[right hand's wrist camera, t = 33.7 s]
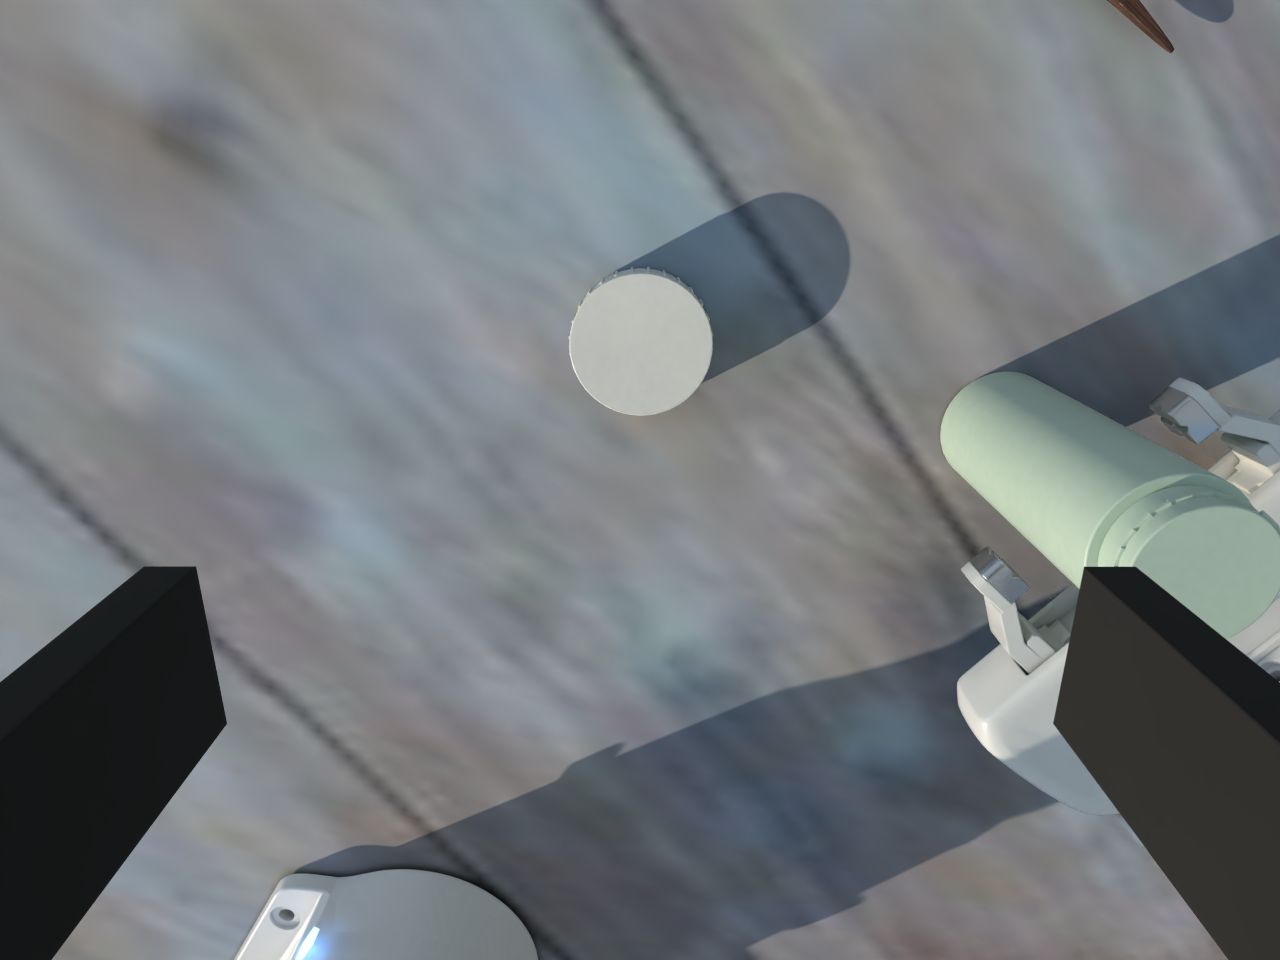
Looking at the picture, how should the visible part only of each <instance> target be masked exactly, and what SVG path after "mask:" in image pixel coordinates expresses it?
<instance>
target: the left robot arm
mask: <svg viewBox="0 0 1280 960" xmlns="http://www.w3.org/2000/svg"><path fill="white" fill-rule="evenodd" d="M1148 407H1149V408H1150V409H1151V410H1152V411H1153V412H1154V413H1155V414H1157V415H1159V416H1161V421H1162V422H1163V423H1164V424H1165V425H1166V426H1167V427H1168V428H1169V429H1170V430H1171V431H1172V432H1174V433H1176V434H1178V435H1180V436H1183V435H1184V436H1185V437H1186V438H1187V439H1188V440H1190V441H1192V442H1194V443H1196V444H1198V445H1199V444H1200V443H1201V442H1202V441H1203V440H1205V439H1206V438H1207V437H1208V436H1210V435H1211V434H1212V433H1213V432H1215V431H1216V430H1218V431H1222V432H1225V433H1224V434H1223V435H1222V438H1221V439H1222V440H1223V441H1224V442H1225V444H1226V445H1227V446H1228V447H1229V448H1230V449H1231V451H1230V452H1229V453H1227V454H1226V455H1225V456H1224V457H1223V458H1222V459H1220V460H1219V461H1218V462H1217V463H1216V464H1214V465H1213V466H1212V467H1211V468H1210V469H1208V471H1209V472H1211V473H1213V474H1215V475H1217V476H1219V477H1221V478H1223V479H1224V480H1226V481H1228V482H1230V483H1231V484H1233V485H1235V486H1236V487H1237V488H1238V489H1239V490H1241V491H1242V492H1243V493H1244V495H1245V496H1246V497H1247V498H1248V499H1249V501H1250V503H1251V504H1252V506H1253V507H1254V508H1255V509H1256V510H1257V511H1258V512H1260V511H1261V510H1263V511H1265V512H1266V513H1267V514H1268V515H1269V516H1270V517H1271V518H1272V519H1273V520H1274V521H1275V522H1276V523H1277V524H1278V525H1279V528H1280V410H1279V411H1278V412H1276V413H1275V414H1274V415H1273V416H1272V417H1270V418H1269V419H1266V418H1263V417H1261V416H1258V415H1256V414H1253V413H1251V412H1248V411H1243V410H1238V409H1234V408H1229V407H1224V406H1221V405H1220V404H1219V403H1218V402H1217V401H1216V400H1215V399H1214V398H1213V397H1212V396H1211V394H1210V393H1209V392H1208V391H1206V390H1205V389H1204V388H1202V387H1201V386H1200V385H1198V384H1196V383H1194V382H1191V381H1189V380H1186V379H1183V378H1181V377H1179V378H1178V379H1177V380H1175V381H1174V382H1173V383H1172V384H1171V385H1170V386H1168V388H1166V389H1165V390H1164V391H1163V392H1162V393H1161V394H1160V395H1159V396H1157V397H1156V398H1155V399H1154V400H1153V401H1152V402H1151V403H1149V404H1148ZM961 571H962V572H963V573H964V574H965V576H966V577H967V578H968V579H969V581H970V582H971V583H972V584H973V585H974V586H975V587H976V588H977V589H978V590H979V591H980V592H981V593H982V594H983V595H984V599H985V604H986V609H987V614H988V620H989V625H990V630H991V631H992V633H993V634H994V635H995V637H996V638H997V639H998V641H999V642H1000V643H1001V644H999V645H998V646H997V647H996V648H995V649H993V650H992V651H991V652H990V653H989V654H987V655H986V656H985V657H984V658H983V659H981V660H980V661H979V662H978V663H977V664H975V665H974V666H973V667H972V668H971V669H969V670H968V671H967V672H966V673H964V674H963V675H962V676H961V677H960V679H959V680H958V683H957V697H958V705H959V708H960V710H961V712H962V714H963V716H964V718H965V720H966V722H967V723H968V725H969V727H970V728H971V730H972V731H973V733H974V734H975V736H976V737H977V738H978V740H979V741H980V742H981V744H982V745H983V746H984V747H985V748H986V749H987V750H988V751H989V752H990V753H991V754H993V755H994V756H995V757H996V758H997V759H998V760H1000V761H1001V762H1002V763H1004V764H1005V765H1006V766H1007V767H1009V768H1010V769H1011V770H1013V771H1014V772H1015V773H1017V774H1018V775H1019V776H1021V777H1022V778H1024V779H1025V780H1027V781H1028V782H1029V783H1031V784H1032V785H1034V786H1035V787H1037V788H1039V789H1040V790H1042V791H1043V792H1045V793H1046V794H1048V795H1050V796H1051V797H1053V798H1055V799H1056V800H1058V801H1060V802H1061V803H1063V804H1065V805H1067V806H1069V807H1071V808H1073V809H1075V810H1078V811H1080V812H1084V813H1087V814H1092V815H1101V816H1105V815H1111V816H1112V817H1113V818H1114V819H1115V820H1116V822H1117V823H1118V824H1119V825H1120V826H1121V827H1122V828H1123V829H1124V830H1125V831H1126V832H1127V833H1128V834H1129V835H1130V836H1131V837H1132V838H1133V839H1134V840H1135V841H1136V842H1137V843H1138V844H1139V845H1140V846H1141V847H1142V848H1144V849H1145V850H1147V849H1146V848H1145V847H1144V845H1143V844H1142V843H1141V841H1140V840H1139V839H1138V837H1137V836H1136V834H1135V833H1134V832H1133V830H1132V829H1131V828H1130V826H1129V825H1128V824H1127V822H1126V821H1125V820H1124V818H1123V817H1122V816H1121V814H1120V813H1119V812H1118V810H1117V809H1116V808H1115V806H1114V805H1113V804H1112V802H1111V801H1110V800H1109V798H1108V797H1107V795H1106V794H1105V793H1104V791H1103V790H1102V789H1101V787H1100V786H1099V785H1098V783H1097V782H1096V781H1095V779H1094V778H1093V777H1092V775H1091V774H1090V773H1089V771H1088V770H1087V769H1086V767H1085V766H1084V765H1083V763H1082V762H1081V761H1080V759H1079V758H1078V756H1077V755H1076V754H1075V752H1074V751H1073V750H1072V748H1071V747H1070V746H1069V744H1068V743H1067V742H1066V740H1065V739H1064V738H1063V736H1062V735H1061V734H1060V732H1059V731H1058V730H1057V728H1056V727H1055V726H1054V724H1053V722H1054V716H1055V711H1056V706H1057V701H1058V696H1059V691H1060V686H1061V681H1062V676H1063V671H1064V666H1065V661H1066V656H1067V651H1068V645H1069V640H1070V635H1071V630H1072V625H1073V620H1074V615H1075V610H1076V605H1077V600H1078V595H1079V590H1080V589H1079V588H1078V587H1077V586H1076V585H1075V584H1074V583H1072V584H1071V585H1070V586H1069V587H1068V588H1066V589H1065V590H1064V591H1063V592H1062V593H1060V594H1059V595H1058V596H1057V597H1056V598H1054V599H1053V600H1052V601H1051V602H1050V603H1048V604H1047V605H1046V606H1045V607H1044V608H1042V609H1041V610H1040V611H1039V612H1038V613H1036V614H1035V615H1034V616H1033V617H1032V618H1030V619H1029V620H1027V619H1026V618H1025V617H1023V616H1022V615H1021V614H1020V613H1019V612H1018V611H1017V608H1016V603H1015V601H1016V600H1017V599H1018V598H1019V597H1020V596H1021V595H1022V594H1023V593H1025V592H1026V591H1027V590H1028V589H1029V588H1030V587H1029V586H1028V585H1027V584H1026V583H1025V582H1024V581H1023V580H1022V579H1021V578H1020V577H1019V576H1018V574H1017V573H1016V572H1015V571H1014V570H1013V569H1012V568H1011V567H1010V566H1009V565H1008V564H1007V563H1006V562H1005V561H1004V560H1003V559H1001V558H1000V557H999V556H998V555H997V554H996V553H995V552H994V551H993V550H992V549H991V548H990V547H989V546H987V547H986V548H984V549H983V550H982V551H981V552H980V553H978V554H977V555H976V556H975V557H974V558H973V559H971V560H970V562H968V563H967V564H966V565H965V566H964V567H962V568H961ZM1226 640H1228V641H1229V642H1230V643H1231V644H1233V645H1234V646H1235V647H1236V648H1238V649H1239V650H1240V651H1241V652H1243V653H1244V654H1245V655H1246V656H1248V657H1249V658H1250V659H1251V660H1253V661H1254V662H1255V663H1256V664H1258V665H1259V666H1260V667H1261V668H1263V669H1264V670H1265V671H1266V672H1267V673H1269V674H1270V675H1271V676H1272V677H1274V678H1275V679H1276V680H1277V681H1279V682H1280V591H1279V592H1278V594H1277V596H1276V598H1275V600H1274V601H1273V602H1272V604H1271V605H1270V606H1269V608H1268V609H1267V610H1266V611H1265V612H1264V613H1263V615H1262V616H1261V617H1260V618H1258V619H1257V620H1256V621H1255V622H1254V623H1253V624H1251V625H1250V626H1249V627H1247V628H1246V629H1245V630H1243V631H1241V632H1240V633H1238V634H1236V635H1234V636H1232V637H1230V638H1228V639H1226ZM234 960H538V955H537V951H536V948H535V945H534V942H533V940H532V938H531V936H530V934H529V932H528V930H527V929H526V927H525V926H524V924H523V923H522V922H521V921H520V919H519V918H518V917H517V916H516V915H515V914H514V913H513V911H512V910H510V909H509V908H508V907H507V906H506V905H505V904H504V903H502V902H501V901H500V900H499V899H497V898H496V897H494V896H493V895H491V894H490V893H488V892H486V891H485V890H483V889H481V888H479V887H477V886H475V885H473V884H471V883H469V882H466V881H464V880H461V879H458V878H455V877H452V876H448V875H445V874H441V873H436V872H430V871H424V870H413V869H392V870H382V871H375V872H370V873H365V874H360V875H355V876H348V877H332V876H325V875H317V874H303V873H299V874H291V875H288V876H286V877H284V878H283V879H281V881H280V882H279V883H278V885H277V887H276V888H275V890H274V892H273V893H272V895H271V897H270V899H269V900H268V902H267V904H266V905H265V907H264V909H263V911H262V912H261V914H260V916H259V917H258V919H257V921H256V923H255V924H254V926H253V928H252V929H251V931H250V933H249V935H248V936H247V938H246V940H245V941H244V943H243V945H242V947H241V948H240V950H239V952H238V953H237V955H236V957H235V959H234Z"/></svg>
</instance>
